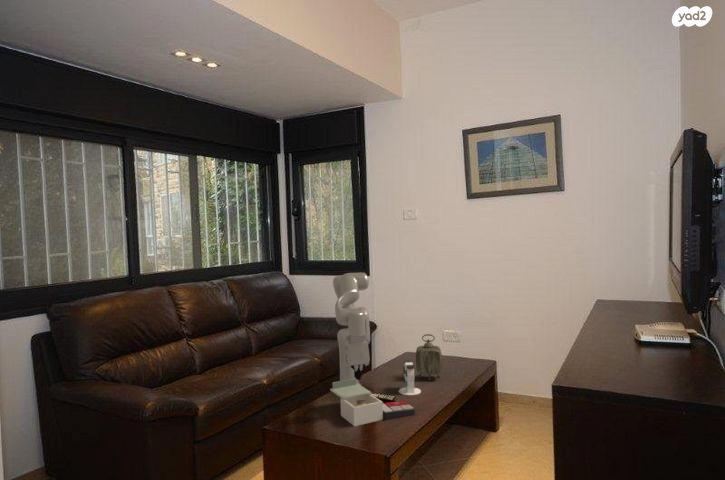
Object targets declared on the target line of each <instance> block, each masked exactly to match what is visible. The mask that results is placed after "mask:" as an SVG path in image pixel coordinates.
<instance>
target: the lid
mask: <svg viewBox="0 0 725 480" xmlns="http://www.w3.org/2000/svg"><path fill="white" fill-rule="evenodd" d="M329 390H330V392H332V393H334V394H335V395H336V396H337V397H338V398H339V399H340V398H341V399H348V398H353V397H358V396H363V395H368V394H371V395H372V391H370V390H368V389H367V388H365V387H364V386H362V384H361V385H359V384H356V379H355V378H354V379H348V380H343V381H340V380H338V381H334V382H332V388H330V389H329Z"/></svg>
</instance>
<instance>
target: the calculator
mask: <svg viewBox="0 0 725 480" xmlns="http://www.w3.org/2000/svg"><path fill="white" fill-rule="evenodd" d="M382 404H383V421H389V420H394V419H399V418H407V417H411V416H412V417H413V416H415V414H416V409H415V407H413V406H412V405H410V404H409V403H408V402H406V401H405V400H399V401H390V402H385V403H382Z"/></svg>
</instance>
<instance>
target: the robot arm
mask: <svg viewBox="0 0 725 480" xmlns="http://www.w3.org/2000/svg"><path fill="white" fill-rule="evenodd" d="M332 285H333V289H334V293H335V295H336V297H337V300H336V302H335V305H334V313H335V320H336V323H337V324H338V325H340V326H346V327H345V328H342V329H340V330H338V332H337V336H336V337H337V342H338V351H339V381H343V380H348V379H354V378H355V379H356V384H359V385H361V386H362V383H360V382H359V380H362V371H363V369H364V368H365V367H367V366H369V365H370V360H371V359H370V350H369V344H370V342H371V330H370V329H371V328H370V315H369V310H368V309H367V308H366V307H363V306H360V307H357V306H356V307H355V303H356V302H357V301H358V300H359V299H360V291H365V290H367V289H368V288H369V285H370V280H369V276H368V275H367V274H366V272H347V273H344V274H342V275H337V276H334V278H333V279H332Z"/></svg>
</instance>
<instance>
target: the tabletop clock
mask: <svg viewBox="0 0 725 480" xmlns="http://www.w3.org/2000/svg"><path fill="white" fill-rule="evenodd" d="M426 336H431V337H433V339H428V338H427V340H425V339H424V337H426ZM435 338H436V337H435V336H434V335H433V334H429V333H426V334H423V336H422V337H421V340H422V341H423V342H425V343H424V344H423V345H419V346H418V347H416V350H415V365H416V371H417V373H418V376H417V377H418V378H422V375H428V378H427V379H428V381H432V378H431V375H437V378H441V375H440V374H441V373H442V369H443V357H442V356H443V354H442V351H441V347H440V346H437V345H434V344H433V342H434V341H435Z"/></svg>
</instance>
